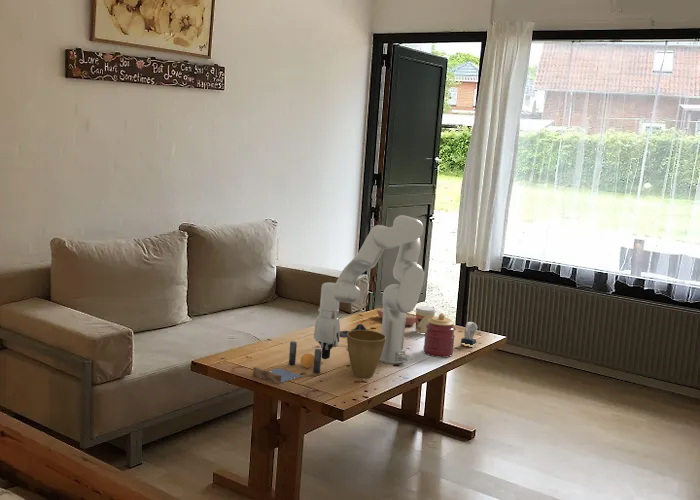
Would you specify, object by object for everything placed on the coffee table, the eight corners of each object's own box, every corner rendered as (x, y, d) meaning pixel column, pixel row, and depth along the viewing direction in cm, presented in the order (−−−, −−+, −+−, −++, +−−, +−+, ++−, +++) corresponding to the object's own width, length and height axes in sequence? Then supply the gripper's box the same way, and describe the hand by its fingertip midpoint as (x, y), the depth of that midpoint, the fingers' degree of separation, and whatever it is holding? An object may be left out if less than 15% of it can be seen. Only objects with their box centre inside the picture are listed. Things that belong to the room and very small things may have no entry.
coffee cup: (410, 330, 367) (413, 305, 366) (428, 330, 370) (430, 306, 369) (418, 335, 359) (420, 310, 357) (436, 335, 362) (438, 310, 360)
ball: (308, 371, 293) (317, 366, 298) (308, 358, 292) (317, 353, 296) (298, 367, 297) (307, 362, 301) (297, 354, 295) (306, 350, 299)
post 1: (296, 364, 299) (298, 342, 298) (292, 365, 297) (293, 343, 296) (291, 363, 301) (293, 340, 299) (287, 364, 299) (288, 342, 297)
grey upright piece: (477, 345, 350) (479, 321, 348) (470, 348, 343) (473, 324, 341) (465, 342, 352) (468, 319, 351) (459, 346, 345) (461, 322, 344)
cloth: (329, 336, 348) (330, 323, 347) (351, 329, 363) (352, 316, 362) (371, 346, 336) (372, 333, 335) (392, 338, 352) (393, 325, 351)
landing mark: (302, 376, 285) (302, 375, 285) (280, 383, 276) (280, 382, 276) (278, 368, 292) (278, 368, 292) (256, 374, 283) (256, 374, 283)
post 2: (321, 372, 292) (323, 349, 290) (317, 373, 290) (318, 351, 288) (316, 370, 293) (317, 348, 292) (311, 372, 291) (313, 349, 290)
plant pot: (335, 373, 292) (338, 332, 290) (362, 367, 303) (366, 328, 300) (363, 384, 282) (366, 342, 280) (390, 377, 292) (394, 337, 290)
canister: (437, 359, 322) (441, 318, 320) (416, 350, 332) (420, 311, 330) (459, 355, 330) (463, 316, 327) (438, 347, 340) (442, 309, 337)
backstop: (280, 383, 275) (281, 375, 275) (278, 384, 274) (279, 376, 274) (254, 374, 283) (255, 367, 282) (252, 375, 282) (253, 367, 281)
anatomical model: (420, 326, 378) (421, 316, 377) (408, 329, 370) (409, 319, 369) (384, 316, 392) (385, 306, 391) (372, 318, 385) (372, 309, 384)
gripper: (308, 311, 304) (305, 355, 307) (337, 319, 295) (334, 364, 298) (320, 308, 310) (317, 352, 313) (349, 316, 301) (345, 361, 304)
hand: (325, 358), depth 305 cm, fingers closed
